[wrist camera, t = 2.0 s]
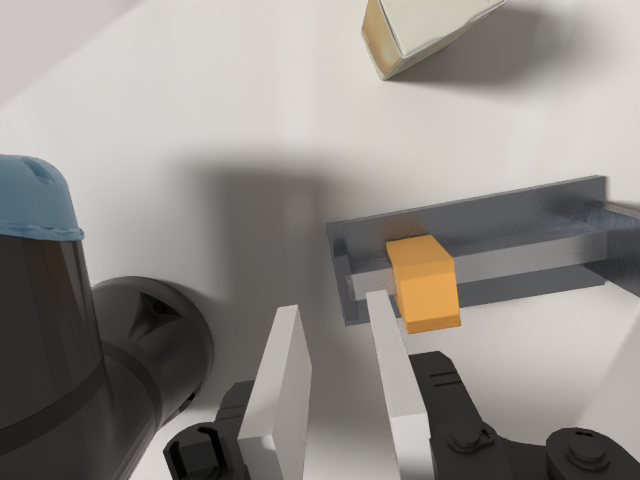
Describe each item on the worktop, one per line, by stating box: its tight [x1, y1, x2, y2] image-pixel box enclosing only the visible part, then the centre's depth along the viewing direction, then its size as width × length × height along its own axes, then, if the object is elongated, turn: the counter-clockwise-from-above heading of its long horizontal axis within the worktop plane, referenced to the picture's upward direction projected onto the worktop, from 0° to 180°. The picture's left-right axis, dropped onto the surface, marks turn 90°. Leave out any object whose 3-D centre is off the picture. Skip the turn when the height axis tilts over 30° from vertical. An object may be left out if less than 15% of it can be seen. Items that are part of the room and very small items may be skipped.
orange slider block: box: [386, 234, 461, 334], centre depth 33 cm, size 4×5×7 cm
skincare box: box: [361, 0, 507, 81], centre depth 27 cm, size 6×4×12 cm
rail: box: [326, 175, 640, 326], centre depth 33 cm, size 24×10×8 cm, turn 101°
